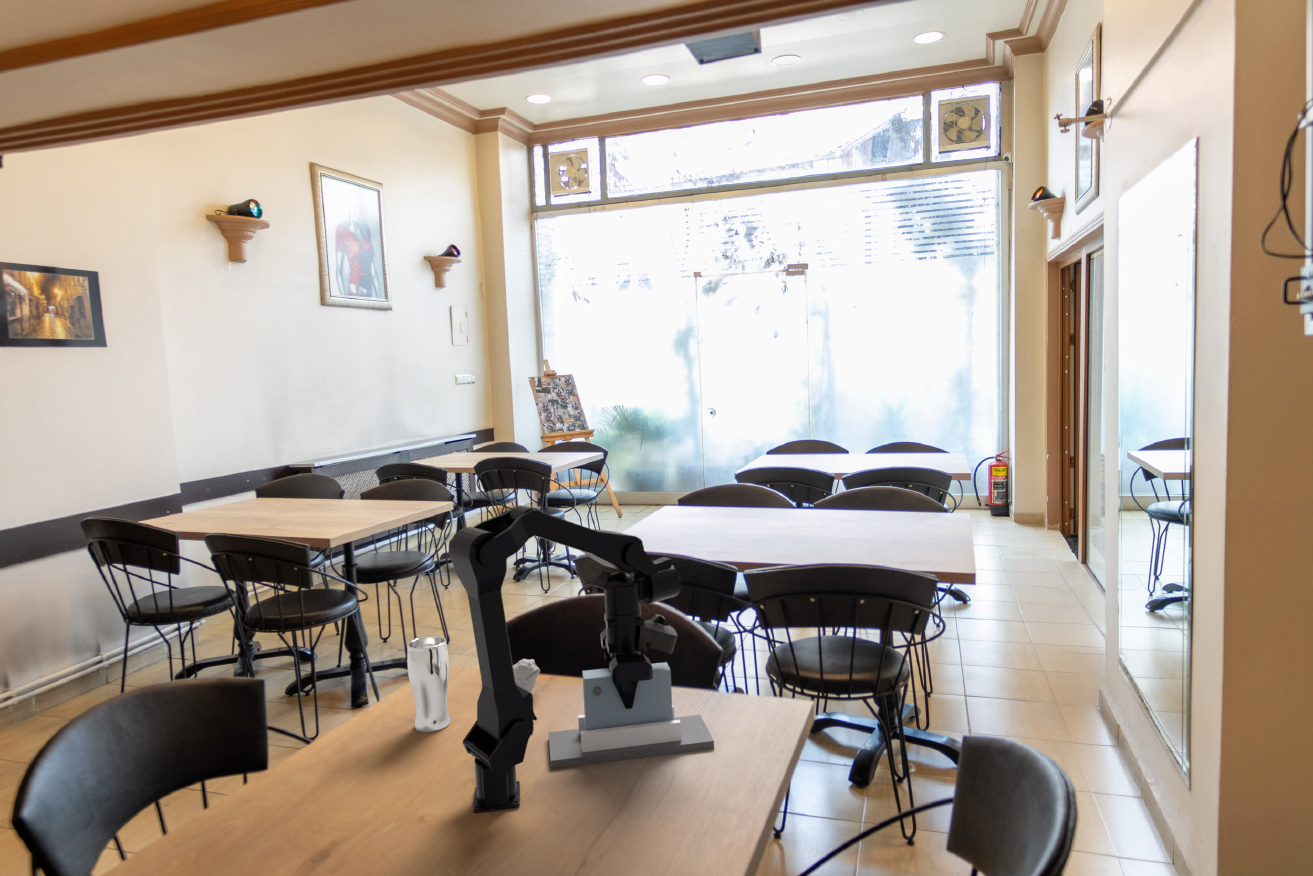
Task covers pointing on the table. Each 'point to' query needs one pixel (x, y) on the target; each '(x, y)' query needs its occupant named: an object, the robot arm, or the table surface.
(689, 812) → the table surface
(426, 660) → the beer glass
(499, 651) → the robot arm
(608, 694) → the door
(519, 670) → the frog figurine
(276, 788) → the table surface
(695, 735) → the hinge frame
